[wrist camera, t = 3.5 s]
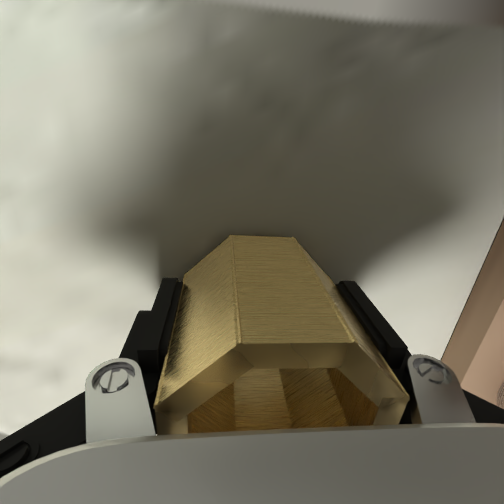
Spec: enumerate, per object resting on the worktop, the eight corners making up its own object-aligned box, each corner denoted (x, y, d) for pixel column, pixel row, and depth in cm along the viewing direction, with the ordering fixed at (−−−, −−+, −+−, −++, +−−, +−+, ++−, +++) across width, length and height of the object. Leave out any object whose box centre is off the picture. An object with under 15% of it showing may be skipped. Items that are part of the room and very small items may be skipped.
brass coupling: (337, 238, 12) (435, 340, 6) (313, 353, 14) (369, 498, 9) (182, 232, 11) (147, 342, 6) (186, 355, 14) (162, 513, 8)
